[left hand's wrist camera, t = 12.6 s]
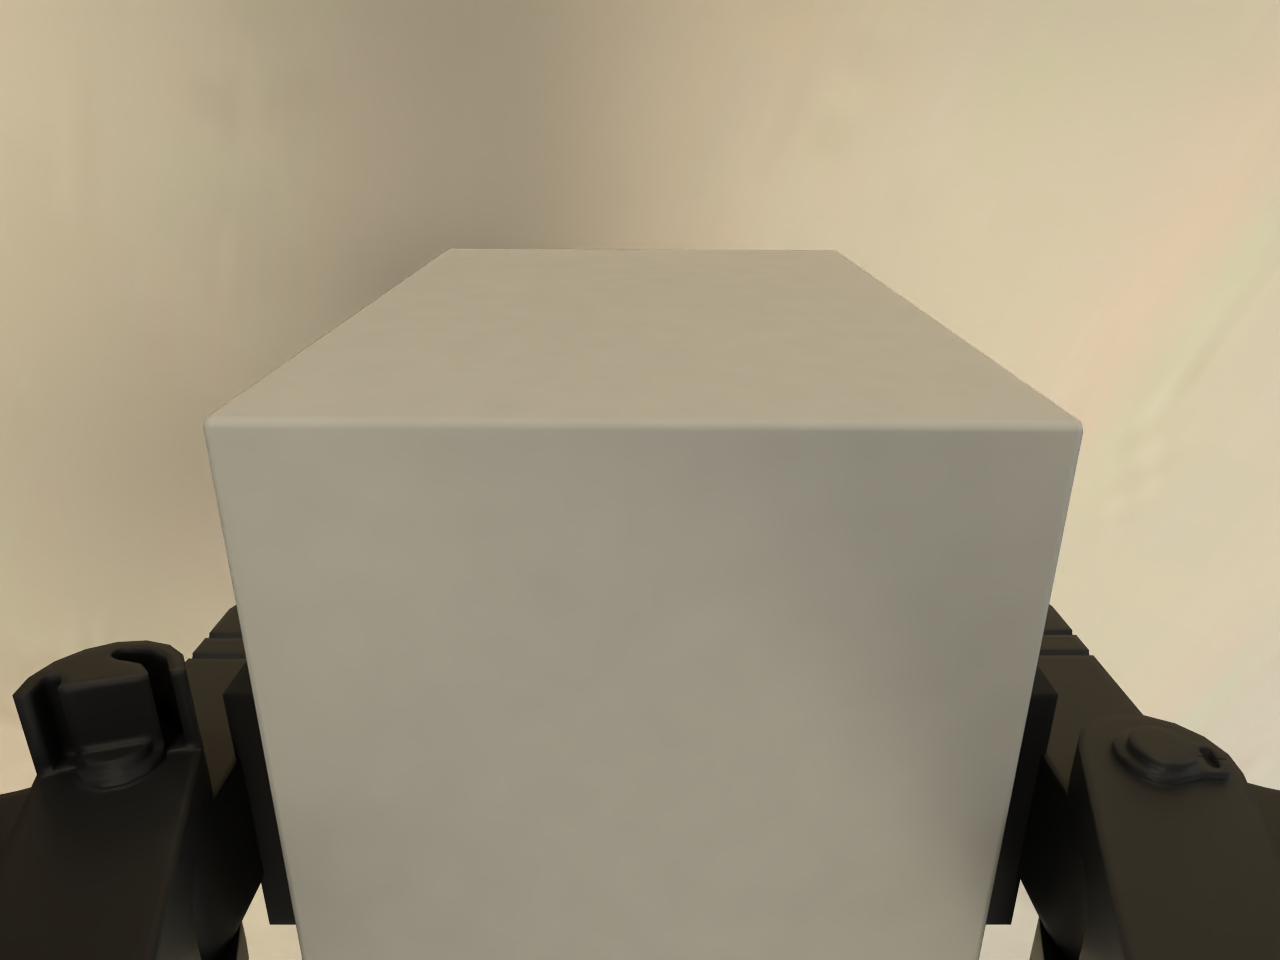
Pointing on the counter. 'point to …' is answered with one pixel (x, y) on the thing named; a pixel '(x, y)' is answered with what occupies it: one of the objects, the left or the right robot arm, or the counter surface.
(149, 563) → the counter surface
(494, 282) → the bar
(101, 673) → the left robot arm
